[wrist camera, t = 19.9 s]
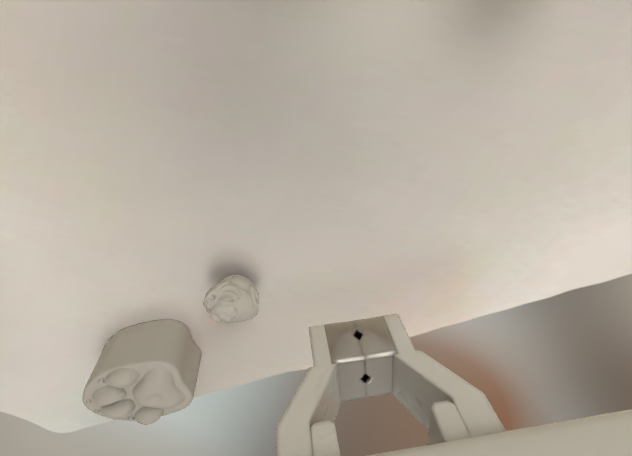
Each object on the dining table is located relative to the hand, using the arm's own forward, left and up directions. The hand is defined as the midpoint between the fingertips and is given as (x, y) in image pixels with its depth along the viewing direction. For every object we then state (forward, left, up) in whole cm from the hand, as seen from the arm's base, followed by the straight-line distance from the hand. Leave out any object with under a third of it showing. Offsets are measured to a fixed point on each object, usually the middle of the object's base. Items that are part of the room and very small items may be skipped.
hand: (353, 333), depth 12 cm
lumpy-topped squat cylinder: (-24, -30, -31) cm, 50 cm away
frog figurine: (-10, -20, -31) cm, 38 cm away
